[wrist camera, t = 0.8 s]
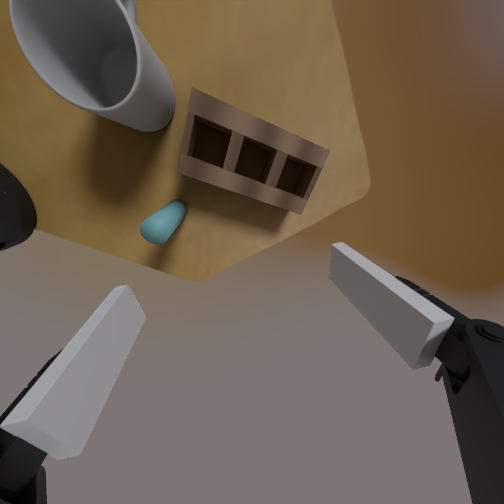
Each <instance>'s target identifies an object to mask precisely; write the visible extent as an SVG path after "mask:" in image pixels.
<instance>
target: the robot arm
mask: <svg viewBox="0 0 504 504" xmlns="http://www.w3.org/2000/svg"><path fill="white" fill-rule="evenodd" d="M35 224H36V213H35V209H34V205H33V203H32V200H31V198H30V196H29V194H28V193H27V191H26V190H25V188H24V187H23V185H22V184H21V183H20V182H19V181H18V179H17V178H16V177H15V176H14V175H13V174H12V173H11V172H10V171H9V170H8V169H7V168H5V167H4V166H3V165H2V164H0V251H2V250H5V249H7V248H10V247H13V246H15V245H18V244H20V243H22V242H24V241H25V240H27V239H28V238H29V237H30V235H31V234H32V233H33V231H34V228H35ZM329 278H330V280H331V281H332V282H333V283H334V284H335V285H336V286H337V287H338V288H339V289H340V290H341V292H342V293H343V294H344V295H345V296H346V297H347V298H348V299H349V300H350V301H351V303H352V304H353V305H354V306H355V307H356V308H357V309H358V310H359V311H360V312H361V313H362V315H363V316H364V317H365V318H366V319H367V320H368V321H369V322H370V323H371V324H372V326H373V327H374V328H375V329H376V330H377V331H378V332H379V333H380V334H381V335H382V336H383V338H384V339H385V340H386V341H387V342H388V343H389V344H390V345H391V346H392V347H393V349H395V351H396V352H397V353H398V354H399V355H400V356H401V357H402V358H403V359H404V361H406V363H407V364H408V365H409V366H410V367H411V368H412V369H413V370H414V369H418V368H421V367H426V366H429V365H430V364H431V362H432V360H433V358H434V357H436V358H438V359H439V360H440V361H441V362H442V364H441V366H440V368H439V370H438V371H437V373H436V375H435V381H438V382H439V380H440V378H441V376H443V381H444V385H445V389H446V393H447V397H448V402H449V406H450V410H451V415H452V418H453V423H454V427H455V432H456V436H457V440H458V444H459V448H460V453H461V457H462V461H463V465H464V469H465V474H466V478H467V482H468V487H469V490H470V495H471V499H472V503H473V504H504V327H503V326H501V325H499V324H497V323H493V322H490V321H487V320H481V319H469V318H467V317H466V316H464V315H463V314H461V313H460V312H458V311H457V310H455V309H453V308H452V307H450V306H449V305H447V304H446V303H444V302H442V301H441V300H439V299H438V298H436V297H435V296H433V295H430V293H428V292H427V291H425V290H424V289H421V287H419V286H417V285H416V284H414V283H413V282H411V281H409V280H407V279H404V278H401V277H399V276H396V277H393V276H392V275H390V274H389V273H387V272H386V271H384V270H383V269H381V268H380V267H378V266H377V265H375V264H374V263H372V262H371V261H369V260H368V259H367V258H365V257H364V256H362V255H360V254H359V253H358V252H356V251H354V250H353V249H352V248H350V247H349V246H347V245H346V244H344V243H343V242H341V243H336V244H332V245H331V259H330V274H329ZM145 318H146V315H145V314H144V312H143V310H142V308H141V307H140V305H139V303H138V301H137V300H136V298H135V296H134V294H133V292H132V291H131V289H130V287H129V285H124V286H119V287H115V288H114V290H112V292H111V293H110V294H109V295H108V296H107V298H106V299H105V300H104V301H103V302H102V304H101V305H100V306H99V307H98V309H97V310H96V311H95V312H94V313H93V314H92V316H91V317H90V318H89V319H88V321H87V322H86V323H85V324H84V325H83V326H82V328H81V329H80V330H79V331H78V332H77V334H76V335H75V336H74V337H73V338H72V340H71V341H70V342H69V343H68V345H67V346H66V347H65V348H64V349H62V350H61V351H60V352H59V353H57V354H56V355H55V356H54V357H52V358H51V359H50V360H49V361H48V362H47V363H46V364H45V366H44V367H43V368H42V369H41V370H40V371H39V372H38V374H37V376H36V377H34V378H33V379H32V380H31V382H30V383H29V384H28V387H27V388H25V389H24V390H23V391H22V392H21V394H19V396H18V397H17V398H16V399H15V400H14V401H13V403H12V404H11V405H10V406H9V407H8V408H7V410H6V411H5V412H4V413H3V414H2V415H1V417H0V504H47V495H46V472H45V469H44V467H43V466H41V464H42V462H43V460H44V459H45V457H46V456H47V454H48V455H50V456H52V457H53V458H55V459H57V460H61V459H65V458H69V457H73V456H77V455H80V454H81V452H82V450H83V448H84V446H85V444H86V442H87V440H88V438H89V435H90V433H91V431H92V429H93V427H94V425H95V423H96V421H97V419H98V417H99V415H100V412H101V410H102V408H103V406H104V404H105V402H106V400H107V398H108V395H109V394H110V392H111V389H112V387H113V385H114V383H115V381H116V379H117V377H118V375H119V373H120V371H121V368H122V366H123V364H124V362H125V360H126V358H127V356H128V354H129V352H130V350H131V348H132V345H133V343H134V341H135V339H136V337H137V335H138V333H139V331H140V329H141V327H142V324H143V323H144V320H145Z"/></svg>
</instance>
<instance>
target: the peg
mask: <svg viewBox="0 0 504 504" xmlns="http://www.w3.org/2000/svg"><path fill="white" fill-rule="evenodd" d="M187 213H188V207H187V205H186V204H185V203H184V202H183V201H181V200H173V201H171V202H170V203H169V204H167V205H166V206H164V207H163V208H162V209H160V210H159V211H157V212H156V213H154V214H153V215H152V216H150V217H149V218H147V219H146V220H145V221H143V222H142V224H141V226H140V232H141V235H142V236H143V238H144V239H145V240H146V241H148V242H150V243H153V244H162V243H164V242H165V241H167V239H168V238H169V237H170V236H171V234H172V233H173V232H174V230H175V229H176V228H177V226H178V225H179V224H180V223H181V221H182V220H183V219H184V217H185V216H186V215H187Z"/></svg>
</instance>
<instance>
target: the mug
mask: <svg viewBox="0 0 504 504" xmlns="http://www.w3.org/2000/svg"><path fill="white" fill-rule="evenodd" d="M9 9H10V17H11V21H12V26H13V29H14V32H15V35H16V38H17V41H18V43H19V45H20V47H21V49H22V51H23V53H24V55H25V57H26V58H27V60H28V62H29V63H30V65H31V66H32V68H33V69H34V70H35V72H36V73H37V74H38V75H39V77H40V78H41V79H42V80H43V81H44V82H45V83H46V84H47V85H48V86H49V87H50V88H51V89H52V90H53V91H54V92H55V93H56V94H58V95H59V96H60V97H62V98H63V99H64V100H66V101H68V102H69V103H71V104H73V105H75V106H77V107H79V108H81V109H83V110H86V111H88V112H91V113H94V114H96V115H99V116H102V117H104V118H107V119H110V120H113V121H115V122H118V123H121V124H123V125H126V126H128V127H130V128H133V129H136V130H139V131H143V132H154V131H158V130H160V129H162V128H163V127H165V126H166V125H167V124H168V123H169V122H170V120H171V118H172V116H173V114H174V110H175V91H174V87H173V83H172V81H171V78H170V76H169V74H168V72H167V70H166V69H165V67H164V66H163V64H162V63H161V61H160V60H159V58H158V57H157V56H156V54H155V53H154V51H153V50H152V48H151V47H150V45H149V43H148V42H147V40H146V39H145V37H144V36H143V34H142V33H141V31H140V30H139V28H138V27H137V17H136V4H135V0H9Z"/></svg>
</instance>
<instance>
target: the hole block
mask: <svg viewBox="0 0 504 504" xmlns="http://www.w3.org/2000/svg"><path fill="white" fill-rule="evenodd" d="M200 123H202V124H205V125H207V126H209V127H212V128H214V129H217V130H219V131H221V132H224V133H226V134H229V135H231V139H230V143H229V147H228V150H227V154H226V158H225V162H224V166H223V168H222V167H219V166H216V165H213V164H211V163H208V162H205V161H202V160H200V159H197V158H194V152H195V147H196V142H197V137H198V132H199V127H200ZM243 141H245V142H248V143H250V144H253V145H255V146H257V147H260V148H262V149H265V150H267V151H269V155H268V158H267V161H266V164H265V167H264V170H263V173H262V176H261V179H260V181H257V180H254V179H251V178H249V177H246V176H243V175H241V174H238V173H235V172H234V171H235V167H236V164H237V160H238V157H239V153H240V150H241V146H242V143H243ZM329 152H330V151H329V150H327V149H325V148H323V147H321V146H319V145H316V144H314V143H312V142H310V141H308V140H305V139H303V138H301V137H299V136H297V135H295V134H292V133H290V132H288V131H286V130H284V129H282V128H279V127H277V126H275V125H273V124H271V123H269V122H266V121H264V120H262V119H260V118H258V117H255V116H253V115H251V114H249V113H247V112H245V111H242V110H240V109H238V108H236V107H234V106H232V105H229V104H227V103H225V102H223V101H221V100H218V99H216V98H214V97H212V96H210V95H208V94H205V93H203V92H201V91H199V90H197V89H195V88H192V90H191V96H190V102H189V108H188V114H187V120H186V126H185V131H184V137H183V143H182V149H181V155H180V161H179V167H178V173H180V174H183V175H186V176H188V177H191V178H194V179H197V180H200V181H203V182H206V183H209V184H212V185H215V186H218V187H221V188H224V189H227V190H230V191H233V192H236V193H239V194H241V195H244V196H247V197H250V198H253V199H256V200H259V201H262V202H265V203H268V204H271V205H274V206H277V207H280V208H283V209H286V210H289V211H291V212H294V213H297V214H300V215H301V214H302V212H303V209H304V207H305V205H306V203H307V201H308V198H309V196H310V194H311V192H312V190H313V187H314V185H315V183H316V181H317V179H318V176H319V174H320V172H321V170H322V168H323V165H324V163H325V161H326V159H327V156H328V154H329ZM286 159H289V160H291V161H293V162H296V163H298V164H300V165H303V169H302V171H301V174H300V176H299V178H298V181H297V183H296V186H295V188H294V191H293V193H290V192H287V191H284V190H281V189H279V188H276V185H277V182H278V180H279V177H280V174H281V172H282V169H283V166H284V164H285V161H286Z"/></svg>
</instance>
